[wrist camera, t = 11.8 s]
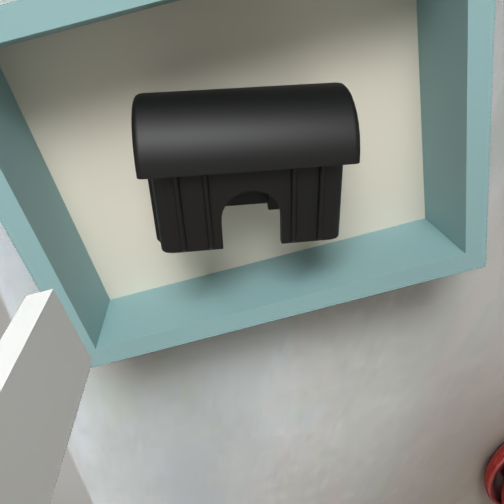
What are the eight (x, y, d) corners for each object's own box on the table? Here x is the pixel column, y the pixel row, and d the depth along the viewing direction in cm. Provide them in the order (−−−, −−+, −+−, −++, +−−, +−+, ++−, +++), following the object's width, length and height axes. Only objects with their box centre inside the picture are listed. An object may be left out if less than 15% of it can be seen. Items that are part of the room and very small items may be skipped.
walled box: (427, -93, 22) (499, -127, 17) (435, 223, 31) (485, 266, 26) (-36, 28, 22) (-106, 32, 17) (102, 309, 31) (83, 369, 26)
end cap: (325, 73, 24) (367, 92, 18) (320, 194, 28) (355, 243, 22) (141, 83, 24) (123, 105, 18) (159, 207, 27) (149, 261, 21)
